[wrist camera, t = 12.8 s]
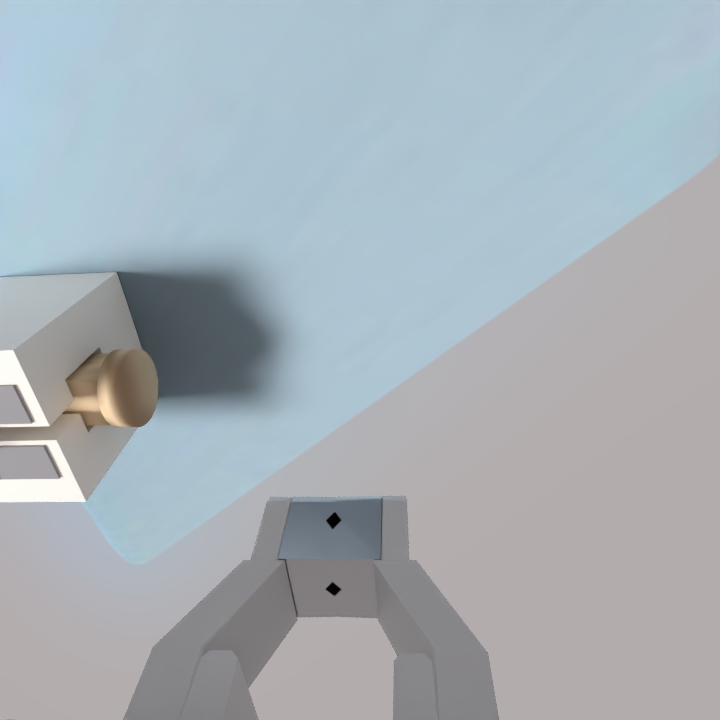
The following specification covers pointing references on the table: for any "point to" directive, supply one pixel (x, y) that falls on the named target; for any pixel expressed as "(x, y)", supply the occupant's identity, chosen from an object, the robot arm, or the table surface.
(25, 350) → the tuner housing
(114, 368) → the peg
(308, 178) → the table surface
